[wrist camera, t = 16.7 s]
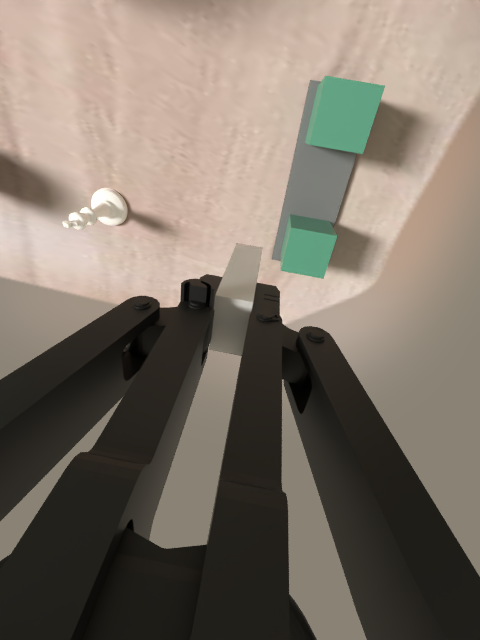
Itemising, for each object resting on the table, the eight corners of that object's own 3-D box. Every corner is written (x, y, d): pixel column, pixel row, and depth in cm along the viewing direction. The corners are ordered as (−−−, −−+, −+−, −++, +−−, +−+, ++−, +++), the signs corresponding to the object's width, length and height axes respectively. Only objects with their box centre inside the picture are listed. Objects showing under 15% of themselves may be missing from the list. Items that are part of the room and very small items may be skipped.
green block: (280, 252, 41) (280, 270, 36) (289, 214, 38) (291, 227, 33) (317, 259, 41) (323, 278, 35) (329, 221, 38) (337, 236, 33)
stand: (271, 257, 42) (270, 278, 36) (309, 80, 32) (316, 68, 25) (320, 266, 42) (326, 288, 36) (375, 91, 31) (397, 81, 25)
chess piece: (130, 225, 42) (92, 248, 34) (97, 224, 43) (52, 245, 34) (124, 188, 40) (81, 203, 31) (89, 187, 40) (38, 201, 32)
